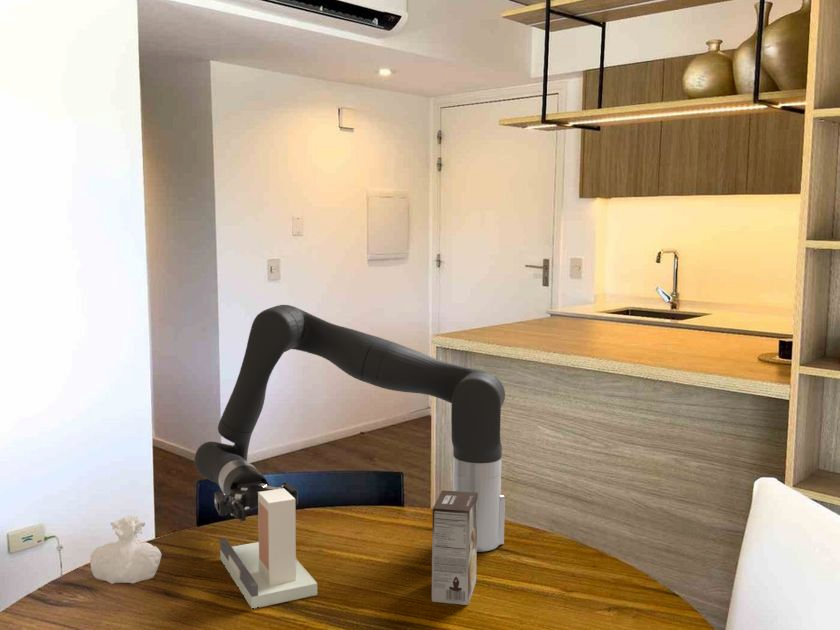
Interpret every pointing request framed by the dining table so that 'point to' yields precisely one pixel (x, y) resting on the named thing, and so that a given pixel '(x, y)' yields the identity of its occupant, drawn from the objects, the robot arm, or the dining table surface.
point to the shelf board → (253, 585)
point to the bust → (125, 555)
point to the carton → (277, 536)
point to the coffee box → (454, 547)
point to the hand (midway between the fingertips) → (268, 511)
